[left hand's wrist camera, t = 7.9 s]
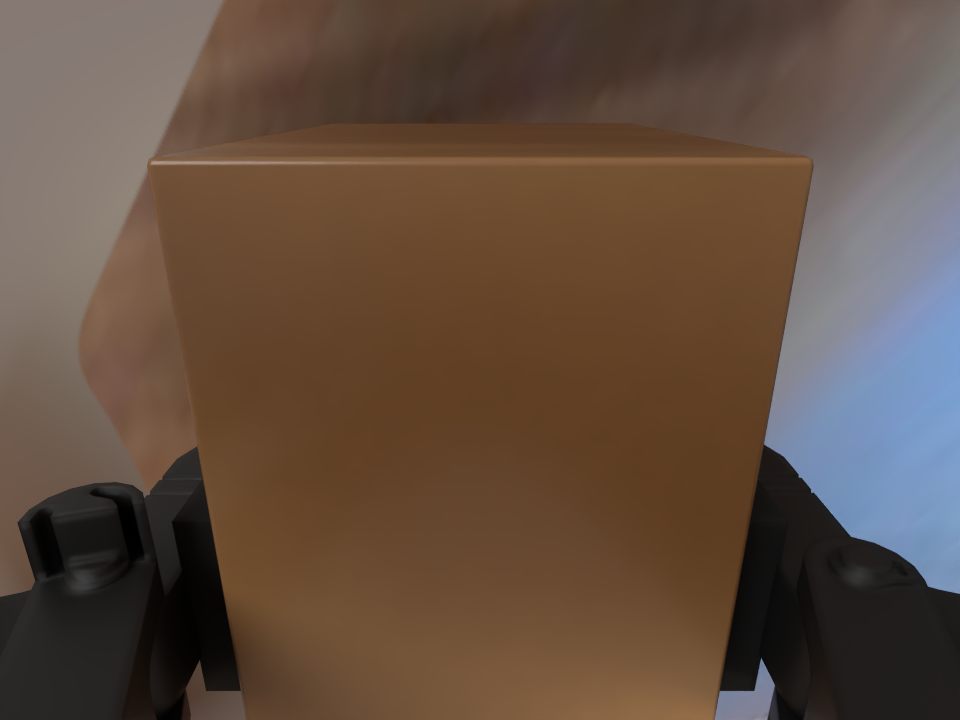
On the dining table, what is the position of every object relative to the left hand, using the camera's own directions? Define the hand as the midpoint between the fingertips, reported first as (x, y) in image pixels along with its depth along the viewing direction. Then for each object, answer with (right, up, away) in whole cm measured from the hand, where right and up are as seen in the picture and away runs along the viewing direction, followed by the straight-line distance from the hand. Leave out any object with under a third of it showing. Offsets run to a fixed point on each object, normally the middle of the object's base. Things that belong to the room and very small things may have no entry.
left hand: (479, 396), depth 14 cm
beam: (0, -29, +12) cm, 32 cm away
